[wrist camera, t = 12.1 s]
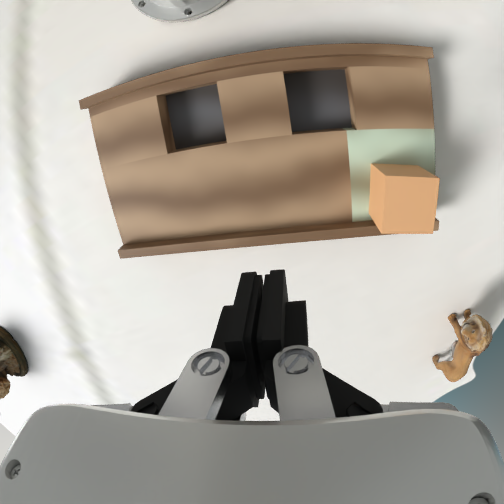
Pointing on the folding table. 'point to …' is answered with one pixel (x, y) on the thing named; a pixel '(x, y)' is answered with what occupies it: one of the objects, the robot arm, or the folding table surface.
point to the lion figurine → (465, 345)
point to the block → (403, 198)
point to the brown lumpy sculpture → (10, 361)
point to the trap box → (260, 145)
